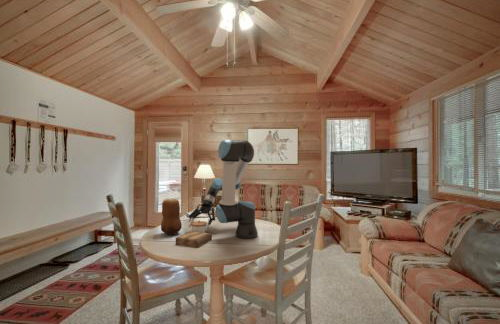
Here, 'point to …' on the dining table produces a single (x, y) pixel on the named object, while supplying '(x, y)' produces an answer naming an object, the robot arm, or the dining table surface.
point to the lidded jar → (199, 226)
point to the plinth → (193, 239)
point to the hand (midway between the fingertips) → (197, 227)
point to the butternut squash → (171, 216)
